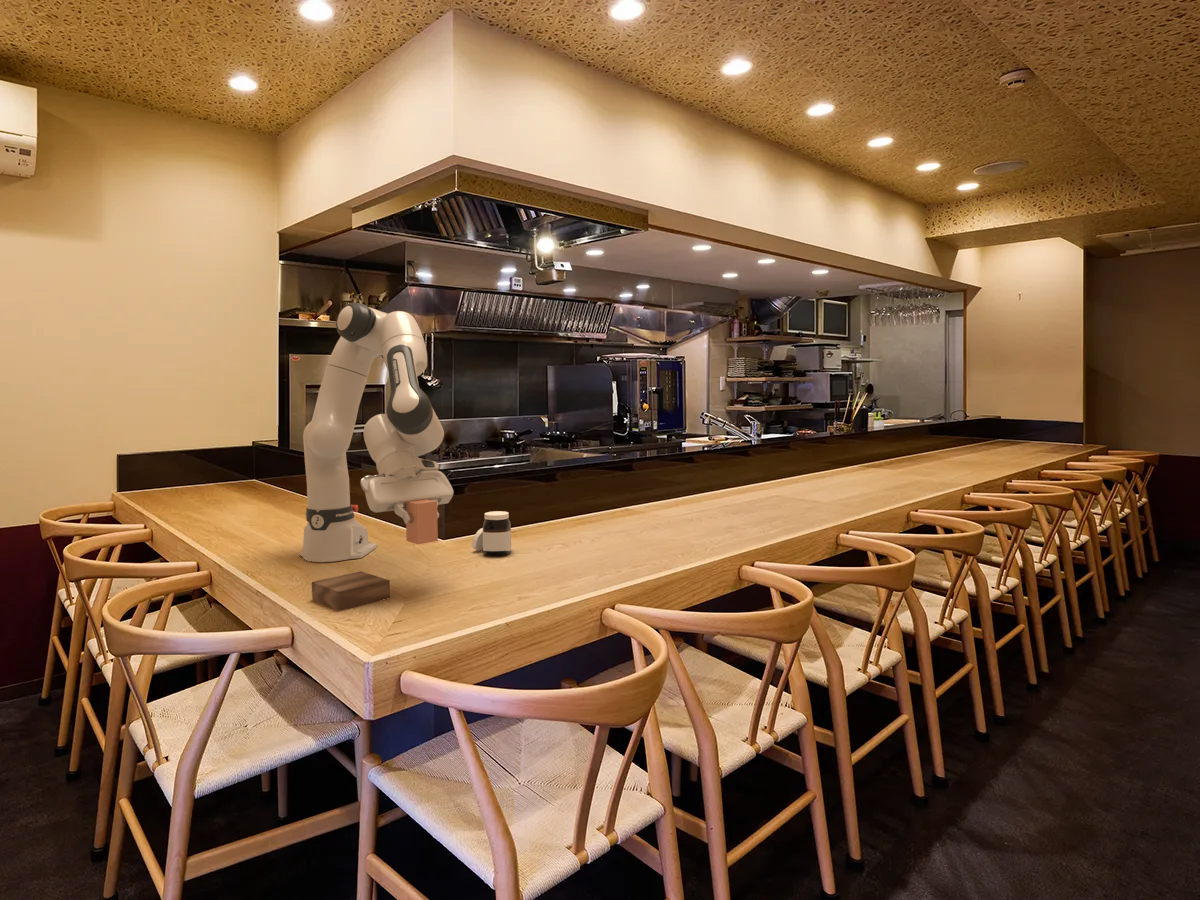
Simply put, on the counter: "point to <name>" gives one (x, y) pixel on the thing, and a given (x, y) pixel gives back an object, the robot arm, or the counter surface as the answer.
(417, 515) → the terracotta block
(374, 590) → the walnut slab
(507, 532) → the spread jar
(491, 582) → the counter surface
